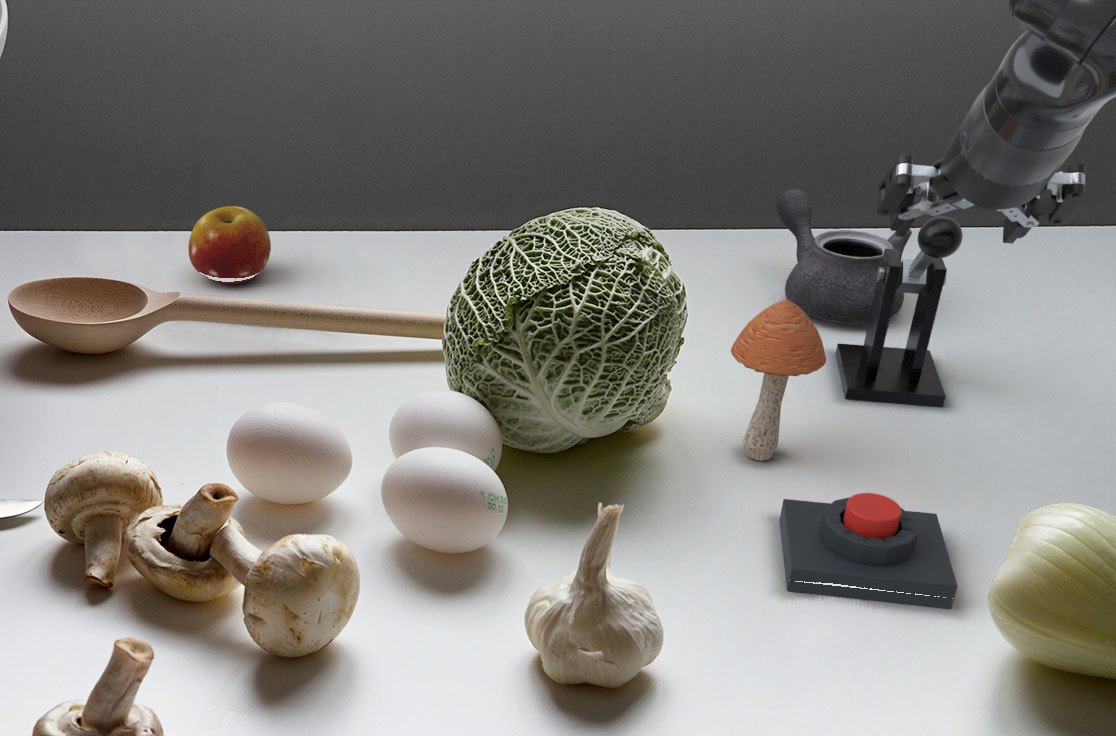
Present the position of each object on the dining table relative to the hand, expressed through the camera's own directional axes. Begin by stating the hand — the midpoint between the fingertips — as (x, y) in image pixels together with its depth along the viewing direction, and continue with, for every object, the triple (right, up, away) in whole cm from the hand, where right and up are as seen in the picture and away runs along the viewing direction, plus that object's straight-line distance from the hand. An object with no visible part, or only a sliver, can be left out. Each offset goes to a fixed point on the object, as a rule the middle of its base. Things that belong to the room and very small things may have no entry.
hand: (953, 229), depth 109 cm
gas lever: (+1, -2, +9) cm, 9 cm away
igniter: (-10, -25, -8) cm, 28 cm away
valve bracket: (+2, -11, +20) cm, 23 cm away
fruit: (-65, +3, +43) cm, 79 cm away
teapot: (+3, 0, +37) cm, 37 cm away
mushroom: (-14, -19, +8) cm, 25 cm away
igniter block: (-10, -28, -6) cm, 30 cm away
